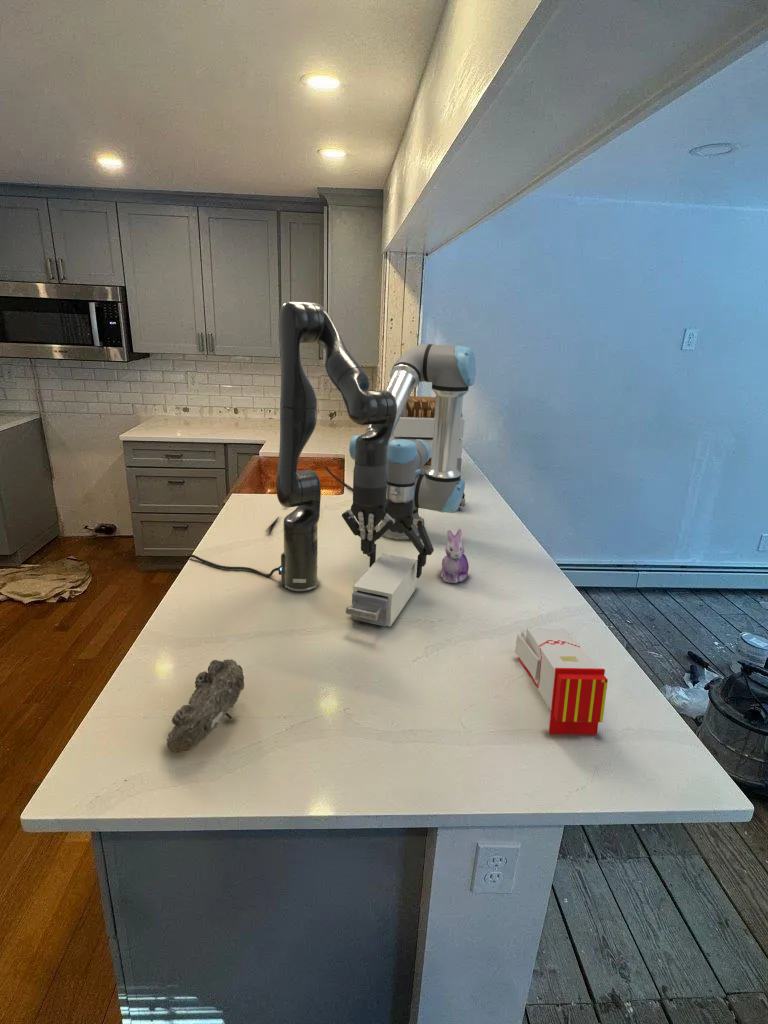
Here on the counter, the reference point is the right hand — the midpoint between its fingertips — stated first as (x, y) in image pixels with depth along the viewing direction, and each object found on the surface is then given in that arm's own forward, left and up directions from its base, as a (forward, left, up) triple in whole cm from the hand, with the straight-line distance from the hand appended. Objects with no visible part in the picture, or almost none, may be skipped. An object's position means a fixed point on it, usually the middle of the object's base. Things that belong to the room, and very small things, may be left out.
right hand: (395, 571), depth 157 cm
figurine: (+4, +20, -6) cm, 22 cm away
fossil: (+18, -62, -6) cm, 65 cm away
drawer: (+6, -11, -5) cm, 14 cm away
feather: (-66, +1, -6) cm, 66 cm away
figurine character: (-40, +68, -6) cm, 79 cm away
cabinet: (+4, -6, -6) cm, 10 cm away
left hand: (+11, -20, +15) cm, 27 cm away
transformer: (-84, +91, -6) cm, 124 cm away
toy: (+53, -3, -6) cm, 53 cm away
